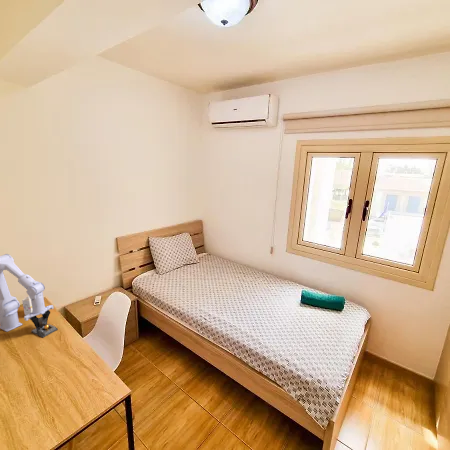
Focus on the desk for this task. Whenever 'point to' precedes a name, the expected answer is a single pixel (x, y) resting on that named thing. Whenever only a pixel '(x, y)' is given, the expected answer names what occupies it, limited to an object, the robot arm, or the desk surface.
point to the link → (42, 322)
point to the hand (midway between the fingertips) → (41, 325)
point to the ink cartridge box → (27, 306)
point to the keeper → (44, 330)
